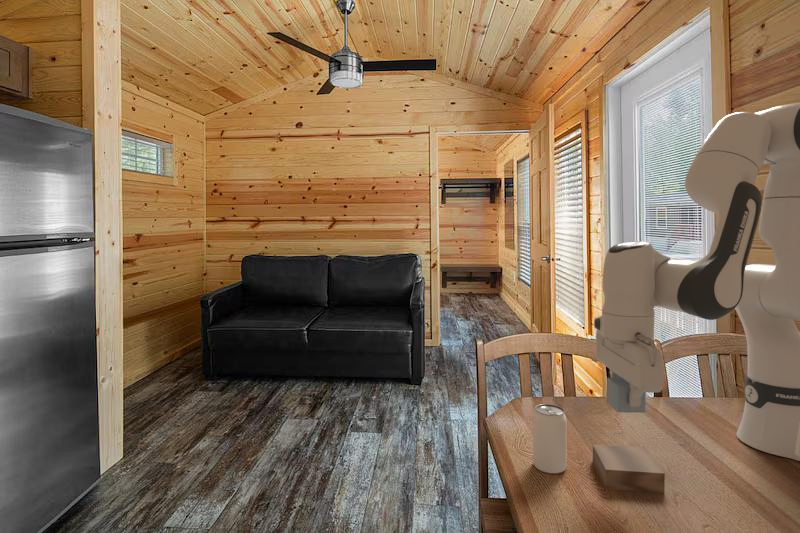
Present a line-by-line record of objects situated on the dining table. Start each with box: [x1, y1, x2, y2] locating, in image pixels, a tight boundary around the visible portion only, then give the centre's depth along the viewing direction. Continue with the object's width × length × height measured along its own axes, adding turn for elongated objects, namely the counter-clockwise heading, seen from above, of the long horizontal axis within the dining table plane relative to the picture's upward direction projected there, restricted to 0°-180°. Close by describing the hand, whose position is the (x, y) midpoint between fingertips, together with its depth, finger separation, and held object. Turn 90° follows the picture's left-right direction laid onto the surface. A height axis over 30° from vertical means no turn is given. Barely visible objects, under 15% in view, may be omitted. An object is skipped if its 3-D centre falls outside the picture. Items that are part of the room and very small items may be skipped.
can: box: [532, 403, 568, 475], centre depth 91 cm, size 6×6×12 cm
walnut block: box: [592, 444, 666, 494], centre depth 87 cm, size 10×10×4 cm
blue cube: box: [606, 377, 647, 413], centre depth 86 cm, size 5×5×5 cm
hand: (625, 399), depth 86 cm, fingers closed on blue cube, 5 cm apart
